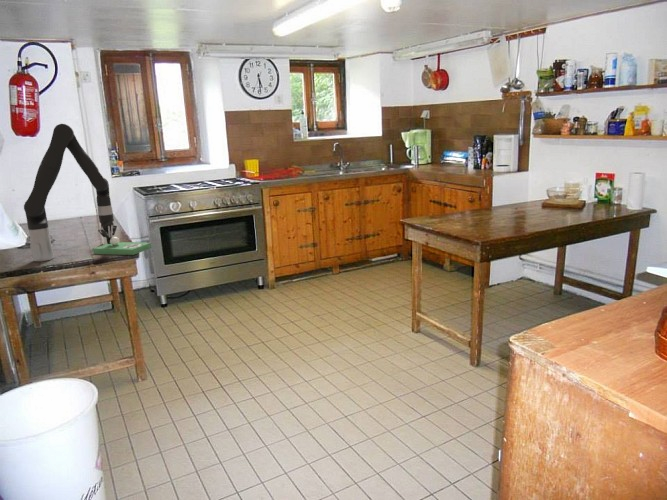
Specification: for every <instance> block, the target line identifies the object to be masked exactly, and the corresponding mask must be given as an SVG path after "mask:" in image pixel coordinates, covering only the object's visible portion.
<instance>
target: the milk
mask: <svg viewBox="0 0 667 500" xmlns="http://www.w3.org/2000/svg"><path fill="white" fill-rule="evenodd" d="M97 219H98V220H99V216H98V215H97ZM98 224H99V225H98V226H99V230H100V229H101V223H100V222H99V221H98ZM100 237H101V242H102V245H105V244H107V239H106V237H103V236H102V235H101V234H100ZM112 237H115V234H114V235H113V236H112Z"/></svg>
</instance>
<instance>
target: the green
mask: <svg viewBox="0 0 667 500" xmlns="http://www.w3.org/2000/svg"><path fill="white" fill-rule="evenodd" d="M149 249H152V243H151V242H134V241H133V242H131V241H130V242H124V241H122V242H121V241H120V242H119V244H118V245H116V246H113V245H111V244H105V245H104V244H102V245H100V246H97V247H94V248H92V252H93V254H94V255H118V256H119V255H120V256H121V255H122V256H124V255H126V256H127V255H128V256H134V255H137V254H139V253H142V252H145V251H146V250H149Z"/></svg>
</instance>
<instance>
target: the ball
mask: <svg viewBox="0 0 667 500" xmlns="http://www.w3.org/2000/svg"><path fill="white" fill-rule="evenodd" d="M119 242H121V241H120V238H119V237H117V236H114V237H112V238H111V239H110V243H111V245H113V246H116V245H118V244H119Z"/></svg>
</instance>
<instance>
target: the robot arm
mask: <svg viewBox="0 0 667 500" xmlns="http://www.w3.org/2000/svg"><path fill="white" fill-rule="evenodd" d="M66 149H67V151H69V152H70V153H71V155H72V157H73V158H74V161H76V163H77V165H78V166H79V168H80V169H81V170H82V171H83V173H84V174H85V175H86V177H87V178H88V180H89V182H90V183H91V184H92V186H93V187H94V189H95V191H96V192H95V193H96V206H97V217H98V216H99V219H98V223H99V222H100V223H101V229H100V228H99V229H98V230H97V232H98V233H99V234H100V236H101V235H102V236H103V237H106V239H107V244H111V243H110V239H111V238H112V236H113V235H114V236H115V234H116V231H117V227H118V226H117V225H115V224H114V220H115V218H114V212H113V206H112V203H111V197H110V185H109V181H108V179H106V178H105V177H104V176H103V175H102V174H101V173H100V170H99V168H98V167H97V165H96V163H94V161H93V160H92V158H91V157H90V156H89V155H88V153H87V152H86V151H85V149H84V148H83V147H82V146H81V144H80V143H79V140H78V139H77V136H76V135H75V132H74V130H73V128H72V127H71V126H70V125H68V124H66V123H59V124H56V126H55V127H54V128H53V132H52V136H51V141H50V142H49V146H48V148H47V150H46V152H45V154H44V156H43V157H42V159H41V162H40V164H39V167H38V169H37V172H36V175H35V179H34V183H33V188H32V191H31V193H30V194H29V196H28V197H27V200H26V201H25V202H24V205H23V210H24V213H25V216H26V217H25V218H26V222H27V228H28V234H29V239H30V243H29V249H30V253H31V258H32V261H33V262H46V261H51V260H54V259H55V255H54V250H53V246H52V240H51V239H52V238H51V233H50V228H49V224H48V219H47V213H46V206H45V205H46V202H47V199H48V195H49V193H50V191H51V190H52V188H53V186H54V184H55V182H56V180H57V178H58V176H59V173H60V170H61V168H62V164H63V160H64V156H65V155H64V154H65V151H66Z"/></svg>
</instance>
